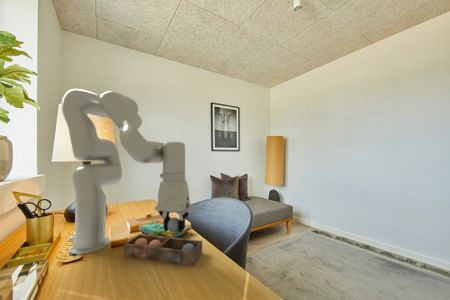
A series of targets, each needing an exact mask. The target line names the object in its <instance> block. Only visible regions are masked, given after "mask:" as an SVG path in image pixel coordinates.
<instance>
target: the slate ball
mask: <svg viewBox="0 0 450 300" xmlns="http://www.w3.org/2000/svg"><path fill="white" fill-rule="evenodd" d="M179 220H180V218H179V217H173V218H171V219H170V220H169V222H168V224H167V227H168V230H169V231H171V232H176V231H178V221H179Z"/></svg>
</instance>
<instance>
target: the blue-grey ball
mask: <svg viewBox="0 0 450 300" xmlns="http://www.w3.org/2000/svg"><path fill="white" fill-rule="evenodd" d="M194 248H195V247H194V246H193V245H192V244H190V243H188V244H185V245H184V246H183V248H182V250H185V251H193V250H194Z"/></svg>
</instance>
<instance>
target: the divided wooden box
mask: <svg viewBox="0 0 450 300" xmlns="http://www.w3.org/2000/svg"><path fill="white" fill-rule="evenodd" d="M140 238H144V239H146V240H147V243H148V244H149V243H150V242H151V241H152V240H159V241H160V242H161V244H160V245H159V246H158V247H153V246H148V245H147V246H145V245H137V244H134V243H135V241H136V240H138V239H140ZM188 243H190V244H192V245H193V246H194V247H195V248H194V250H193V251H185V250H182V248H183V246H184V245H185V244H188ZM202 255H203V240H200V239H199V240H197V239H189V238H180V237H176V238H171V237H162V236H153V235H147V234H145V233H139V234H137V235H136V236H135V237H133V238H131V239H130V240H128V241H127V242H125V243H123V258H129V259H130V258H131V259H134V260H135V259H138V260H142V261H143V260H144V261H150V262H156V263H157V262H158V263H162V264H163V263H164V264H172V265H178V266H186V267H192V268H194V267H195V265H196V263H197V262H198V261H199V259H200V257H201V256H202Z"/></svg>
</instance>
